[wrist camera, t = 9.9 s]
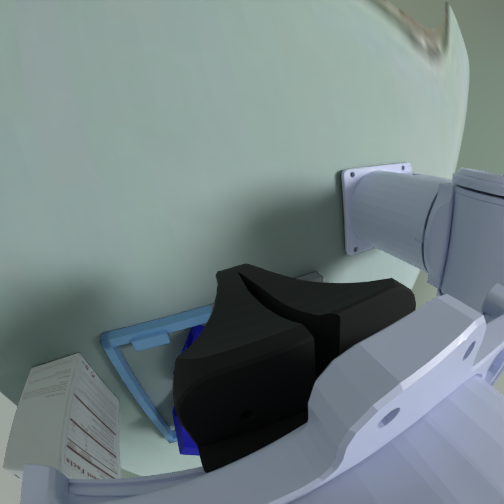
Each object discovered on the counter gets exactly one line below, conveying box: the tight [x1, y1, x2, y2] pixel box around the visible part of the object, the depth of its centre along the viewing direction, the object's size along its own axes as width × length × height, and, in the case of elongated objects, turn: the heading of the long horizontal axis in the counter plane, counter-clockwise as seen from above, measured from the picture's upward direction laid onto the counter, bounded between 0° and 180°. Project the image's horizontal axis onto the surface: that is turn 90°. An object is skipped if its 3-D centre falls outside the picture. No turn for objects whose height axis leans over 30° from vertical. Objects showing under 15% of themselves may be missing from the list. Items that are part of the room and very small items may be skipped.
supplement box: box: [3, 353, 121, 482], centre depth 14 cm, size 7×7×13 cm
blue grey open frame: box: [100, 272, 323, 443], centre depth 24 cm, size 20×17×2 cm
